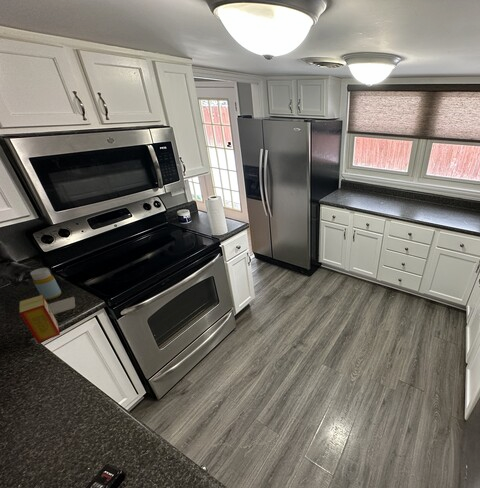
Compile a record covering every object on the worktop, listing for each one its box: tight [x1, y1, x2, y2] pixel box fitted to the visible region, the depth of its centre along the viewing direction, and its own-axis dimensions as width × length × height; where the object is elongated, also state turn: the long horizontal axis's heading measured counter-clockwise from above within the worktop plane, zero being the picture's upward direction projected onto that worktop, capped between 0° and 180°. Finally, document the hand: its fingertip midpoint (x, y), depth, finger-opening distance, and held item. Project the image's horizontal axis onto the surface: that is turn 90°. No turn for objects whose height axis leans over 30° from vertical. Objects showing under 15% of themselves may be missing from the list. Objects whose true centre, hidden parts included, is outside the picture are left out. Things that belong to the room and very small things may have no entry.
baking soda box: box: [19, 294, 61, 344], centre depth 107 cm, size 10×6×16 cm
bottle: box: [30, 267, 62, 301], centre depth 129 cm, size 7×7×15 cm
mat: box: [47, 296, 76, 316], centre depth 125 cm, size 12×11×1 cm
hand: (38, 279), depth 130 cm, fingers open, 8 cm apart
